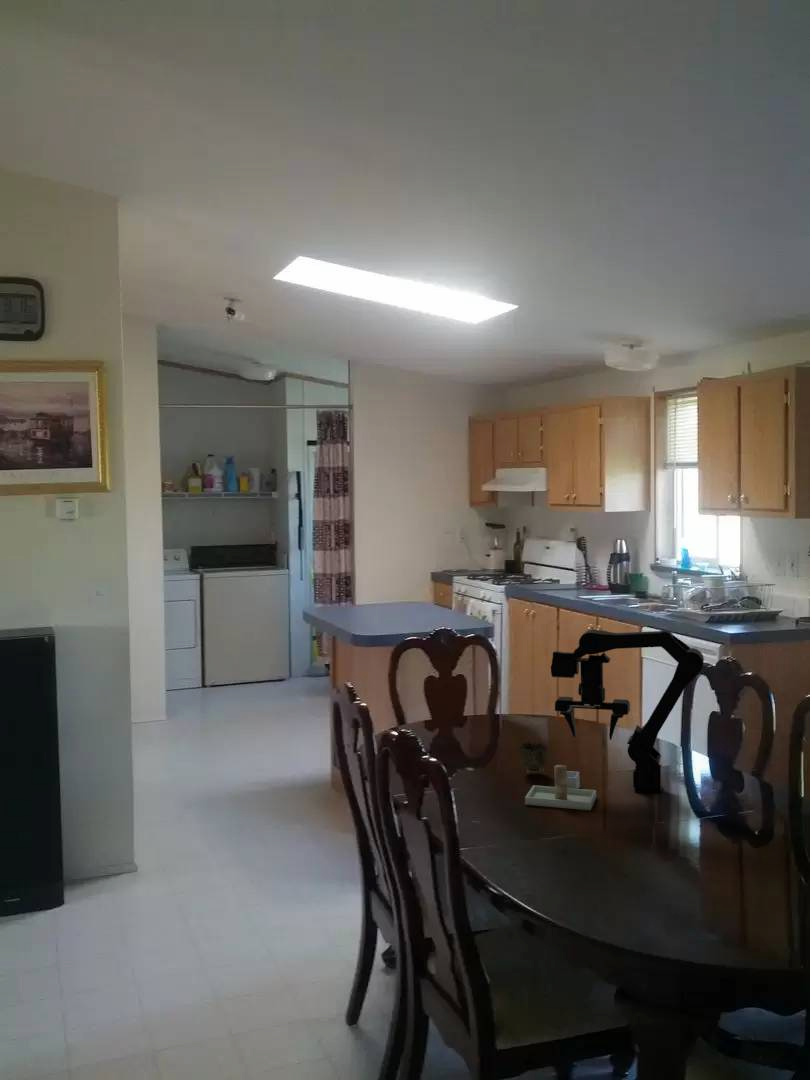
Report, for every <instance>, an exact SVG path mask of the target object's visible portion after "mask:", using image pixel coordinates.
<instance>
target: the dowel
mask: <svg viewBox="0 0 810 1080" xmlns="http://www.w3.org/2000/svg"><path fill="white" fill-rule="evenodd" d="M553 770H554V787H555V799H559V800H566V799H567V771H568V770H567V766H566V765H565V764H556V765H554V769H553Z"/></svg>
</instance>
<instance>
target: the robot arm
mask: <svg viewBox="0 0 810 1080" xmlns="http://www.w3.org/2000/svg"><path fill="white" fill-rule="evenodd" d="M578 645H579V646H577V648H575V649H574V651H573V652H568V651H567V652H566V651H564V652H563V651H560V650H559V651H558V650H555V651H553V652H552V659H551V665H550V674H551V675H550V676H551V677H552V678H559V679H560V678H565V679H575V676H576V675H579V674H580V682H579V683H578V691H577V693H578V695H579V696H580V700H574V698H573V697H572V696H559V697H558V698H557V699H556V700H555V702H554V711H555V712H559V714H560V715H563V716H564V719H565V720H566V723H568V726H569V729H570V731H571V733H572V736H573V738H576V737H577V727H576V717H575V709H585V710H602V711H603V710H605V711H606V710H607V711H611V712H612V713H611V715H610V722H609V733H608V734H609V735H608V736H609V737H608V738H609V740H610V741H612V738H613V735H614V732H615V729H616V726H617V723H618V720H619V719H623V718H624V716H626V715H629V713H630V711H631V709H630V708H631V703H630V701H629V700H628V699H619V698H618V699H617V698H615V699H613V701H612V702H605V701H606V689H605V687H604V664H608V663H610V662H611V658H610V657H609V656H608V655H607V654H606V652H609V651H613V650H618V649H641V648H662V649H663V650H664V651H666V653H668V655H670V657H671V658H672V659H674V660H675V661H676V663H677V664H676V665H677V666H676V668H675V672H674V675H673V677H672V679H671V681H670V682H669V683H668V686H666V690H665V691H664V693H663V694H662V696H661V697H660V699H659V701H658V703H657V704H656V706H655V707H654V709H653V711H652V713H651V714H650V716H649V718H648V720H647V721H646V723H645V724H644V725H643V726H641V727H640V725H638V724H637V725H636V726H635V729H634V731H633V734H632V735H630V736H629V738H628V740H627V742H626V743H627V745H628V747H627V755H628V757H629V758H630V759H631V760H632V761H633V762H634V764H635V767H634V769H633V771H632V779H633V780H632V783H633V784H632V785H633V786H632V787H633V788H634V792H635V793H642V794H643V793H645V794H658V795H661V794H662V791H663V784H662V783H663V781H662V764H660V761H661V757H662V754H661V753H660V752H659V751H658V750H657V749H656V748H655V747H654V746H655V744H656V741H657V737H658V735H659V733H660V730H661V729H662V727H663V726H664V724H665V722H666V721H667V719H668V718H669V715H670V714H671V712H672V711H673V708H674V707H675V705H676V703H677V702H678V700H679V699H680V697H681V696H682V694H683V692H684V690H685V689H686V687H687V686H688V685H690V683H691V682H692V681H693V680H694V679H695V678H696V677H697V676H698V674H700V673H701V671H702V670H703V667H704V662H705V657H704V655H703V653H702V652H701V651H700V650H699V649H697V648H691V647H690V646H689V645H688V644H686V643H685V642H684V641H682V640H681V639H680V638H678V637H676V636H675V635H674V634H673V633H672V632H671V631H670V630H668V629H663V630H656V631H655V630H654V631H653V630H652V631H634V632H633V631H632V632H611V631H607V630H600V629H588V630H586V631H585V632H584V633H583V634H581V636H580V637H579V640H578ZM596 654H597V655H596ZM598 654H600V655H598ZM586 655H589V656H588V657H584V656H586Z"/></svg>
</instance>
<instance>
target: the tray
mask: <svg viewBox="0 0 810 1080" xmlns="http://www.w3.org/2000/svg"><path fill="white" fill-rule="evenodd" d="M596 799H597V789H596V790H595V789H584V788H579V789H573V788H567V799H566V800H559V799H555V786H547V785H546V786H544V785H532V786H531V788H530V790H529V791H528V792H527V794H526V795H525V796H524V801H525V802H524V805H525V806H537V807H538V806H540V807H547V808H548V807H550V808H559V809H560V808H561V809H562V808H563V809H572V810H583V811H591V809H592V808H593V806H594V804H595V802H596Z"/></svg>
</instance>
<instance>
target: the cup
mask: <svg viewBox="0 0 810 1080" xmlns="http://www.w3.org/2000/svg"><path fill="white" fill-rule="evenodd" d="M547 751H548V745H547V744H543V743H542V742H541V743H540V742H537V743H536V742H535V741H534V742H532V743H531V742H530V741H527V742H526V743H525V742H522V744H519V752H520V758H521V763H522V766H523V767H524V768H525V769H527V770H526V773H527V774H528V775H531V776H538V775H540V774H541V769H543V767H544V766H545V764H546V759H547Z"/></svg>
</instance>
